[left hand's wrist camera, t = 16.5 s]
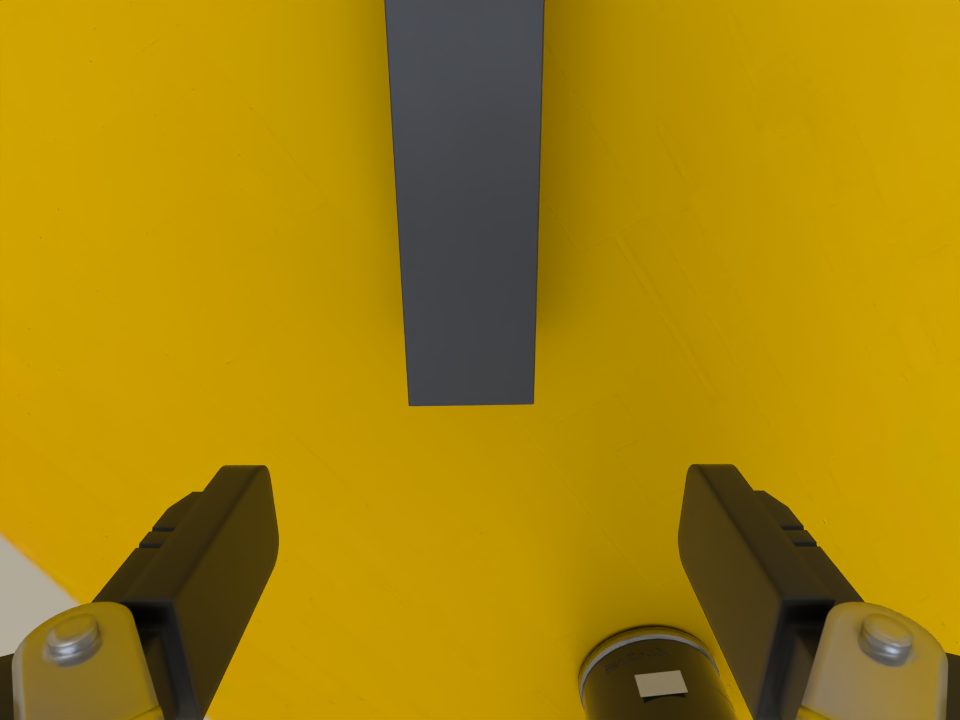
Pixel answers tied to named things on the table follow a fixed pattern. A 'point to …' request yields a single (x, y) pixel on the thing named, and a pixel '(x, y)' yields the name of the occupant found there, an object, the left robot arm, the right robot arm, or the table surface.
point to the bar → (467, 194)
